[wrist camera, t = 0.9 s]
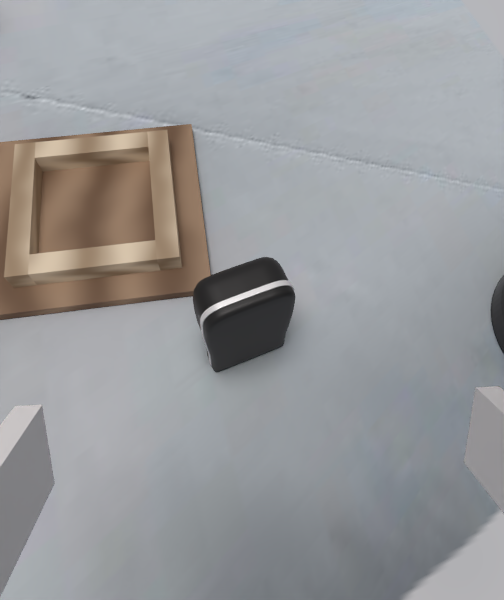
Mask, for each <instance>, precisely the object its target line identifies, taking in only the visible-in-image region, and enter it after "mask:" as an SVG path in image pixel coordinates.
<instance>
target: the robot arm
mask: <svg viewBox="0 0 504 600" xmlns="http://www.w3.org/2000/svg"><path fill="white" fill-rule="evenodd" d="M491 313H492V322H493V327H494V331H495V334H496V337H497V340H498V342H499V344H500V346H501V348H502V350H503V352H504V276H503V277H502V278H501V280H500V281H499V283H498V284H497V287H496V289H495V292H494V295H493V299H492V308H491ZM464 463H465V465H466V466H467V467H468V468H469V470H470V471H471V472H472V474H473V475H474V476H475V477H476V479H477V480H478V481H479V482H480V484H481V485H482V486H483V488H484V489H485V490H486V491H487V493H488V494H489V495H490V496H491V498H492V499H493V500H494V502H495V503H496V504H497V505H498V507H499V508H500V509H501V510H502V512H503V513H504V390H503V389H502V388H500V387H499V386H495V387H475V393H474V400H473V406H472V412H471V419H470V425H469V432H468V438H467V444H466V451H465V457H464ZM53 486H54V477H53V471H52V464H51V458H50V452H49V445H48V439H47V433H46V427H45V420H44V414H43V408H42V405H27V406H15V407H14V408H13V409H12V411H11V412H10V413H9V414H8V416H7V417H6V418H5V420H4V421H3V422H2V423H1V425H0V596H1V594H2V592H3V590H4V588H5V586H6V584H7V582H8V580H9V577H10V575H11V573H12V571H13V569H14V567H15V565H16V563H17V561H18V559H19V557H20V555H21V552H22V550H23V548H24V546H25V544H26V542H27V540H28V538H29V536H30V534H31V532H32V529H33V527H34V525H35V523H36V521H37V519H38V517H39V515H40V513H41V511H42V509H43V506H44V504H45V502H46V500H47V498H48V496H49V494H50V492H51V490H52V488H53Z"/></svg>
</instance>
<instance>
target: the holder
mask: <svg viewBox="0 0 504 600" xmlns="http://www.w3.org/2000/svg"><path fill="white" fill-rule="evenodd" d="M208 276H211V275H210V267H209V259H208V251H207V243H206V235H205V227H204V220H203V212H202V204H201V196H200V188H199V180H198V172H197V165H196V157H195V149H194V141H193V133H192V125H191V124H188V125H177V126H167V127H156V128H146V129H135V130H124V131H114V132H103V133H93V134H82V135H72V136H61V137H51V138H40V139H29V140H19V141H8V142H0V320H3V319H11V318H19V317H27V316H35V315H43V314H51V313H59V312H67V311H75V310H83V309H91V308H99V307H107V306H115V305H123V304H131V303H139V302H147V301H155V300H163V299H171V298H179V297H188V296H193V292H194V288H195V287H196V285H197V283H198V282H199V281H201V280H202V279H204V278H206V277H208Z"/></svg>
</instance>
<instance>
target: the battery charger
mask: <svg viewBox="0 0 504 600" xmlns="http://www.w3.org/2000/svg"><path fill="white" fill-rule="evenodd" d="M193 303H194V310H195V314H196V318H197V321H198V324H199V326H200V329H201V332H202V336H203V340H204V343H205V346H206V349H207V355H208V357H209V363H210V365H211V366H212V367H213V369H214V371H217V372H218V371H221V370H223V369H226V368H228V367H231V366H234V365H236V364H239V363H241V362H244V361H246V360H249V359H251V358H254V357H256V356H259V355H261V354H264V353H266V352H269V351H271V350H274V349H276V348H279V347H281V346H282V345H283V344H284V338H285V334H286V331H287V328H288V325H289V322H290V319H291V316H292V312H293V308H294V303H295V293H294V288H293V286H292V284H291V282H290V281H288V279H287V277H286V275H285V273H284V271H283V269H282V267H281V266H280V264H279V263H278V262H277V261H276V260H274V259H273V258H268V257H263V258H259V259H256V260H253V261H250V262H247V263H244V264H241V265H238V266H235V267H232V268H230V269H227V270H224V271H222V272H219V273H216V274H213V275H211V276H208V277H206V278H204V279H202V280H201V281H199V282H198V283H197V285H196V287H195V288H194V292H193Z"/></svg>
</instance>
